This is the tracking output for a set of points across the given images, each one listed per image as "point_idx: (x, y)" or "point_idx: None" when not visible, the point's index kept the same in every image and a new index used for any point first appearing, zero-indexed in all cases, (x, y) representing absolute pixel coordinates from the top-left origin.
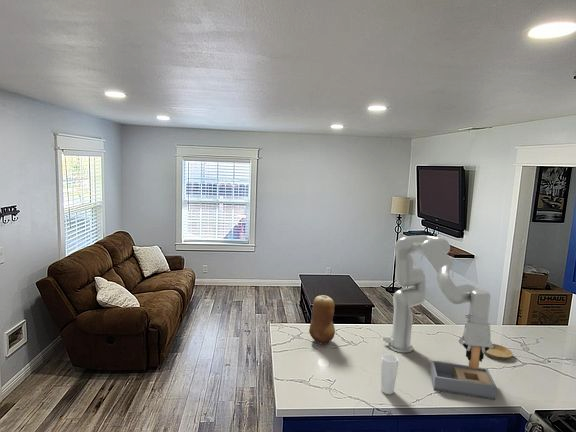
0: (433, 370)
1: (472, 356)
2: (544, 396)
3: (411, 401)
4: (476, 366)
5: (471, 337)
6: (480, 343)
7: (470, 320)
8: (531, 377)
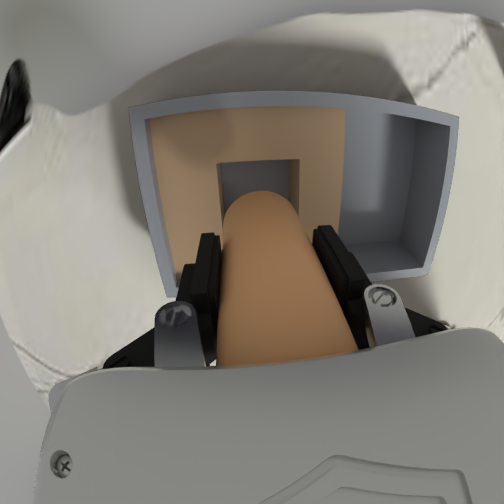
0: (449, 185)
1: (307, 248)
2: (14, 230)
3: (476, 37)
4: (247, 200)
5: (497, 477)
6: (249, 438)
7: None
8: (58, 323)
